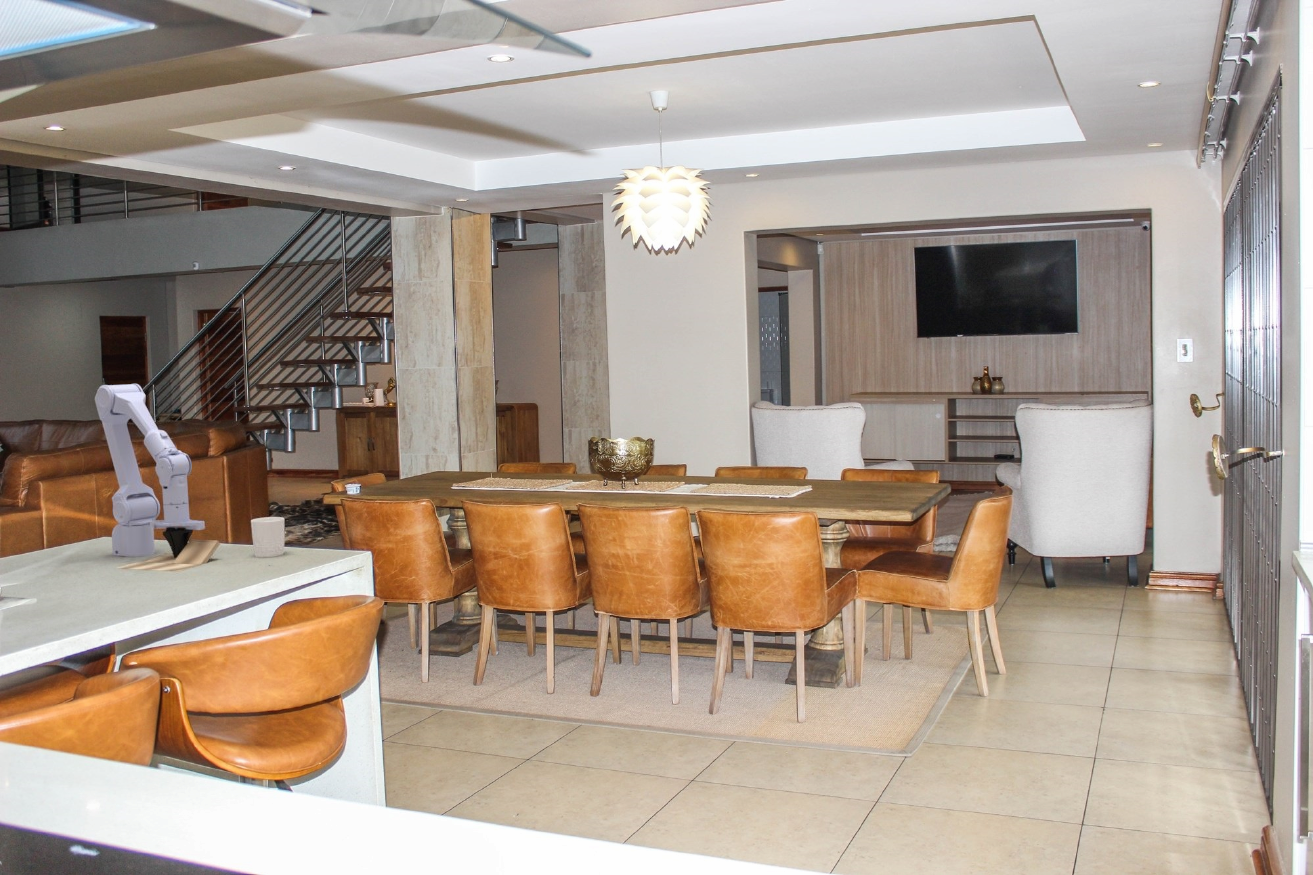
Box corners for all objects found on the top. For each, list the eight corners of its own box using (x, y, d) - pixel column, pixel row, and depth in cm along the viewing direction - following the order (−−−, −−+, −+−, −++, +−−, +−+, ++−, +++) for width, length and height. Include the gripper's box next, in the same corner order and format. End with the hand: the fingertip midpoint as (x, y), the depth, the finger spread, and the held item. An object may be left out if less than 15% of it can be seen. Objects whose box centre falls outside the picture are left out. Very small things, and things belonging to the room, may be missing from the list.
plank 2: (175, 566, 274) (172, 562, 273) (192, 542, 280) (190, 539, 279) (202, 567, 271) (200, 564, 271) (219, 544, 277) (217, 540, 277)
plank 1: (144, 566, 276) (143, 561, 276) (167, 558, 283) (166, 553, 283) (171, 567, 273) (171, 562, 273) (194, 559, 281) (193, 554, 281)
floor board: (115, 573, 268) (114, 568, 268) (139, 566, 276) (139, 561, 276) (178, 576, 263) (178, 571, 263) (201, 569, 270) (201, 564, 270)
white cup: (291, 556, 286) (289, 516, 285) (278, 562, 278) (276, 521, 277) (261, 556, 287) (259, 516, 286) (247, 562, 279) (245, 521, 278)
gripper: (139, 505, 276) (143, 560, 277) (189, 506, 272) (193, 562, 273) (160, 501, 283) (163, 555, 284) (209, 501, 279) (212, 556, 280)
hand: (179, 558), depth 279 cm, fingers closed, pressing on plank 1
